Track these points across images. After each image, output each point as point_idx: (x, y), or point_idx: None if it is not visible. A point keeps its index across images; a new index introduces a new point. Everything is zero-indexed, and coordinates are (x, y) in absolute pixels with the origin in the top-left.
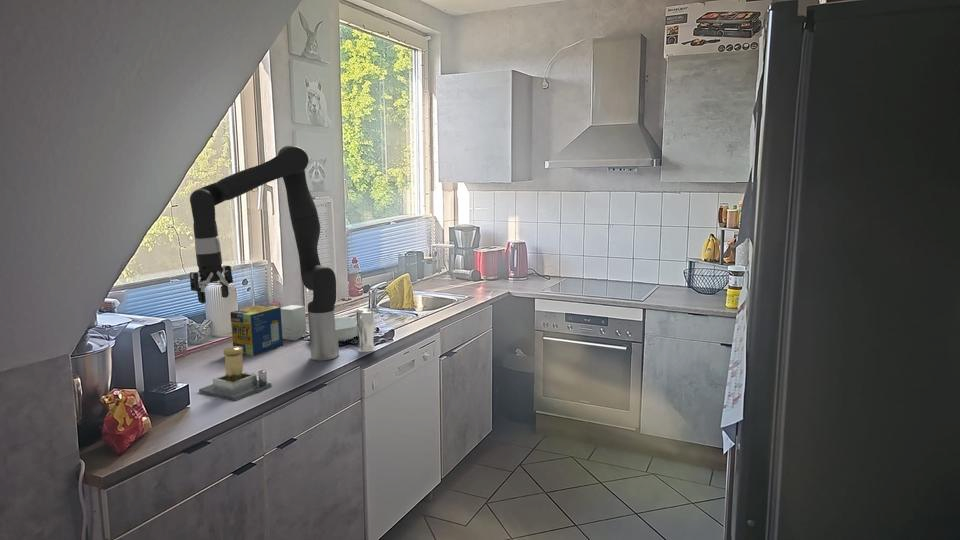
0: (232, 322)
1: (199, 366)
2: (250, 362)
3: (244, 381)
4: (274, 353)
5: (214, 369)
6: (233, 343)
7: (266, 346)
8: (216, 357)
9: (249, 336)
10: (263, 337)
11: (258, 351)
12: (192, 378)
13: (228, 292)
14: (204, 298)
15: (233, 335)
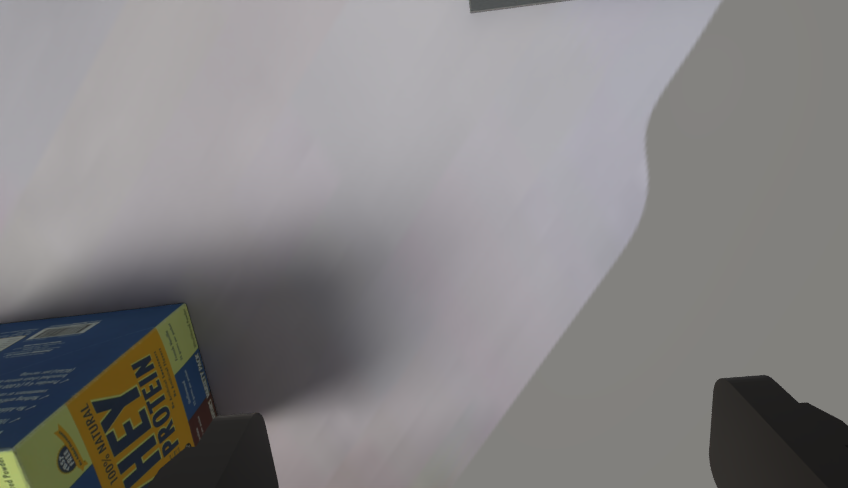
0: None
1: (450, 374)
2: (255, 215)
3: None
4: (84, 244)
5: (437, 270)
6: None
7: (77, 323)
8: (318, 430)
9: (131, 371)
10: (54, 348)
11: (141, 312)
12: (588, 234)
13: (151, 486)
14: (796, 420)
15: None
